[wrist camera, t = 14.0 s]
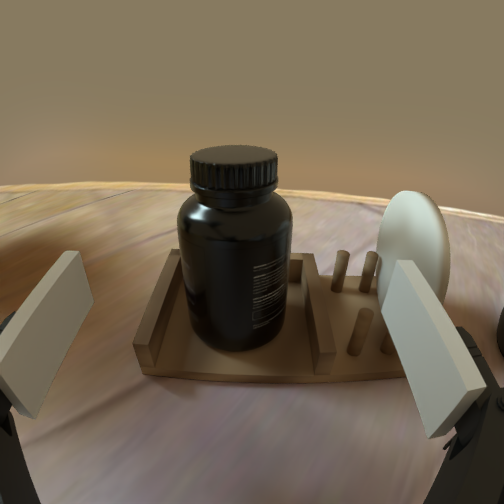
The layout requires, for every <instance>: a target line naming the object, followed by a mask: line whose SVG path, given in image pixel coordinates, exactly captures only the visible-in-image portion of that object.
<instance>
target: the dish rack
mask: <svg viewBox="0 0 504 504" xmlns="http://www.w3.org/2000/svg"><path fill="white" fill-rule="evenodd" d="M349 256H350V254H349V252H347V251H344V250H340V251H338V252H337V257H336V263H335V268H334V273H333V276H329V275H319V274H318V270H317V266H316V262H315V258H314V254H309V253H291V255H290V268H289V281H288V293H287V304H286V313H285V321H284V324H283V327H282V329H281V331H280V332H279V334H278V335H277V336H276V337H275V338H274V339H273V340H272V341H270V342H269V343H267V344H266V345H264V346H262V347H259V348H257V349H254V350H249V351H243V352H231V351H224V350H220V349H217V348H214V347H212V346H210V345H208V344H206V343H205V342H203V341H202V340H201V339H200V338H199V337H198V336H197V335H196V334H195V332H194V331H193V329H192V326H191V323H190V319H189V313H188V307H187V300H186V293H185V286H184V279H183V271H182V264H181V256H180V249H172V250H171V252H170V254H169V256H168V259H167V261H166V263H165V265H164V268H163V270H162V272H161V275H160V277H159V279H158V282H157V284H156V286H155V289H154V291H153V294H152V296H151V298H150V301H149V303H148V306H147V308H146V311H145V313H144V315H143V318H142V320H141V323H140V326H139V328H138V331H137V333H136V336H135V338H134V341H133V346H134V349H135V352H136V355H137V358H138V361H139V364H140V367H141V370H142V373H143V374H148V375H156V376H165V377H174V378H185V379H196V380H210V381H226V382H250V383H324V382H347V381H363V380H376V379H387V378H398V377H407V376H406V374H405V371H404V368H403V366H402V363H401V360H400V358H399V355H398V352H397V350H396V347H395V345H394V342H393V340H392V337H391V335H390V332H389V330H388V327H387V325H386V323H385V320H384V318H383V315H382V313H381V310H382V307H383V303H384V300H385V297H386V294H387V291H388V288H389V284H390V281H391V278H392V274H393V271H394V268H395V264H396V261H397V260H413V262H414V263H415V265H416V266H417V267H418V269H419V270H420V272H421V273H422V275H423V276H424V278H425V280H426V281H427V283H428V284H429V286H430V287H431V289H432V290H433V292H434V293H435V295H436V297H437V298H438V300H439V301H440V303H441V305H442V304H443V302H444V299H445V295H446V292H447V287H448V282H449V275H450V244H449V238H448V232H447V228H446V225H445V222H444V219H443V216H442V214H441V212H440V210H439V208H438V206H437V205H436V203H435V202H434V201H433V200H432V199H431V198H430V197H429V196H428V195H426V194H424V193H422V192H414V191H401V192H399V193H397V194H396V195H395V196H394V197H393V198H392V200H391V201H390V203H389V204H388V206H387V208H386V210H385V213H384V215H383V218H382V222H381V225H380V229H379V235H378V241H377V249H376V252H373V251H369V252H367V255H366V259H365V264H364V268H363V272H362V276H345V275H346V270H347V266H348V261H349ZM375 269H376V276H374V272H375Z"/></svg>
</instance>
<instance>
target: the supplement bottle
mask: <svg viewBox="0 0 504 504" xmlns="http://www.w3.org/2000/svg"><path fill="white" fill-rule="evenodd" d="M277 162H278V158H277V154H276V153H275V152H274V151H272V150H270V149H267V148H262V147H256V146H249V145H248V146H247V145H225V146H217V147H210V148H205V149H201V150H199V151H196V152H195V153H193V154H192V155H191V156H190V171H191V178H190V188H191V190H192V191H193V192H195V194H193V195H192V196H190V197H189V198H188V199H187V200H186V201H185V202H184V203H183V205H182V206H181V208H180V210H179V213H178V216H177V230H178V239H179V248H180V256H181V264H182V271H183V279H184V286H185V293H186V300H187V307H188V313H189V319H190V323H191V326H192V329H193V331H194V332H195V334H196V335H197V336H198V337H199V338H200V339H201V340H202V341H203V342H205V343H206V344H208V345H210V346H212V347H214V348H217V349H220V350H224V351H231V352H243V351H249V350H254V349H257V348H259V347H262V346H264V345H266V344H267V343H269V342H270V341H272V340H273V339H274V338H275V337H276V336H277V335H278V334H279V332H280V331H281V329H282V327H283V324H284V321H285V313H286V304H287V293H288V281H289V268H290V255H291V242H292V227H293V217H292V212H291V209H290V207H289V206H288V204H287V202H286V201H285V200H284V199H283V198H282V197H281V196H280V195H278V194H277V193H275V192H273V191H274V190H275V189H276V188H277V187H278V176H277V165H278V164H277Z"/></svg>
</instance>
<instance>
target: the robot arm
mask: <svg viewBox="0 0 504 504" xmlns="http://www.w3.org/2000/svg"><path fill="white" fill-rule="evenodd" d="M93 304H94V299H93V296H92V293H91V290H90V286H89V283H88V280H87V276H86V273H85V269H84V266H83V262H82V258H81V255H80V251H65V252H64V253H63V254H62V255H61V256H60V257H59V259H58V260H57V261H56V262H55V263H54V265H53V266H52V267H51V268H50V269H49V271H48V272H47V273H46V274H45V275H44V277H43V278H42V279H41V280H40V282H39V283H38V284H37V286H36V287H35V288H34V289H33V291H32V292H31V293H30V295H29V296H28V297H27V298H26V300H25V301H24V302H23V304H22V305H21V306H20V308H19V309H18V311H17V312H13V313H12V314H11V315H9V316H8V317H7V318H6V319H5V320H4V321H3V322H2V324H1V325H0V504H41V503H40V500H39V498H38V495H37V493H36V490H35V488H34V485H33V482H32V479H31V477H30V474H29V471H28V468H27V465H26V462H25V459H24V455H23V452H22V449H21V445H20V442H19V438H18V434H17V431H16V427H15V423H14V418H13V416H12V414H11V412H10V411H9V410H10V408H11V406H12V405H13V406H14V408H15V409H16V410H17V411H18V412H19V414H21V415H24V416H26V417H29V418H32V419H36V417H37V415H38V412H39V410H40V408H41V405H42V403H43V401H44V399H45V397H46V394H47V392H48V390H49V388H50V386H51V384H52V382H53V380H54V377H55V375H56V373H57V371H58V369H59V367H60V365H61V363H62V361H63V359H64V357H65V355H66V353H67V351H68V349H69V348H70V346H71V344H72V342H73V340H74V338H75V336H76V334H77V332H78V331H79V329H80V327H81V325H82V323H83V321H84V320H85V318H86V316H87V314H88V312H89V311H90V309H91V307H92V305H93ZM381 313H382V315H383V318H384V320H385V323H386V325H387V327H388V330H389V332H390V335H391V337H392V340H393V342H394V345H395V347H396V350H397V352H398V355H399V358H400V360H401V363H402V366H403V368H404V371H405V374H406V376H407V379H408V382H409V385H410V387H411V390H412V393H413V396H414V399H415V402H416V405H417V408H418V411H419V414H420V417H421V420H422V423H423V426H424V429H425V432H426V435H427V439H431V438H435V437H440V436H444V435H446V434H447V433H448V432H449V431H450V430H451V429H452V428H453V427H454V426H455V429H456V432H457V433H456V434H455V435H454V437H453V438H452V439H451V440H450V441H449V442H448V443H447V444H446V445H445V446H444V448H443V449H444V450H446V449H447V448H448V447H449V446H450V447H449V449H448V452H447V454H446V457H445V459H444V461H443V463H442V466H441V468H440V470H439V472H438V475H437V477H436V479H435V481H434V483H433V485H432V487H431V489H430V491H429V493H428V495H427V497H426V499H425V501H424V503H423V504H504V388H500V387H499V385H498V383H497V381H496V380H495V378H494V376H493V374H492V372H491V370H490V368H489V366H488V364H487V363H486V361H485V359H484V357H482V354H481V352H480V350H479V348H477V345H476V343H475V341H474V340H473V338H472V336H471V335H470V334H469V333H468V332H467V331H466V330H465V329H464V328H463V327H455V326H454V325H453V323H452V321H451V320H450V318H449V316H448V314H447V313H446V311H445V310H444V308H443V306H442V305H441V303H440V301H439V300H438V298H437V297H436V295H435V293H434V292H433V290H432V289H431V287H430V286H429V284H428V283H427V281H426V280H425V278H424V276H423V275H422V273H421V272H420V270H419V269H418V267H417V266H416V265H415V263H414V262H413V260H397V261H396V264H395V268H394V271H393V274H392V278H391V281H390V284H389V288H388V291H387V294H386V297H385V300H384V303H383V307H382V310H381Z"/></svg>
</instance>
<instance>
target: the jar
mask: <svg viewBox="0 0 504 504" xmlns="http://www.w3.org/2000/svg"><path fill="white" fill-rule="evenodd" d="M497 338H498V344H499V348H500V350H501V353H502V355H503V357H504V308H503V310H502V313H501V316H500V319H499V323H498V328H497Z"/></svg>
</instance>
